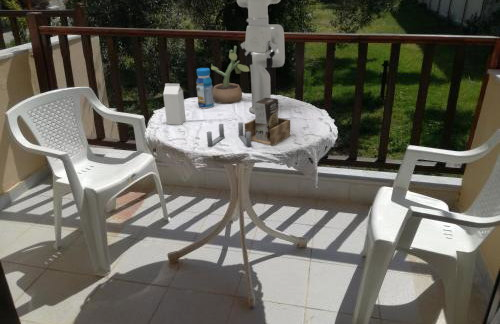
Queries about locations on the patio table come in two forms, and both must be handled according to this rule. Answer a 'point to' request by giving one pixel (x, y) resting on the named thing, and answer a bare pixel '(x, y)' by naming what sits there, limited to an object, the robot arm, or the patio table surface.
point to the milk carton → (174, 104)
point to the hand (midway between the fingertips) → (259, 66)
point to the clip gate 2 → (248, 136)
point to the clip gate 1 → (221, 133)
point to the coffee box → (266, 117)
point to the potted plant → (228, 90)
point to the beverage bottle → (204, 88)
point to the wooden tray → (275, 133)
